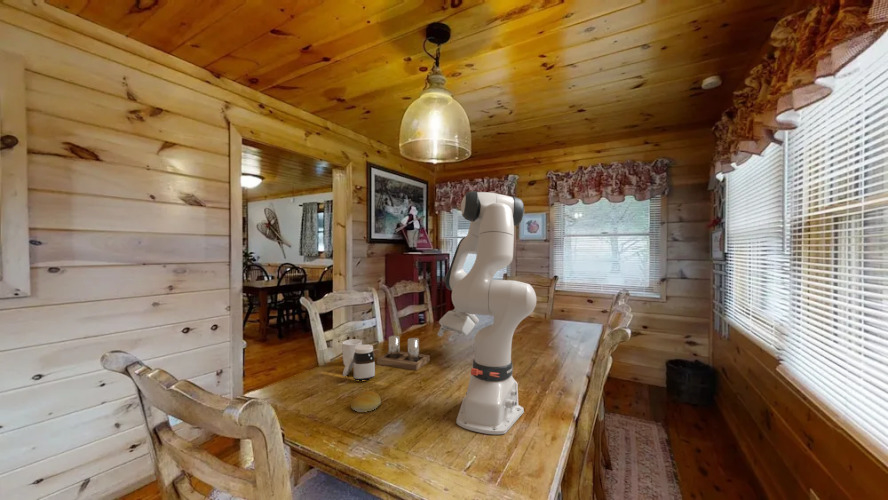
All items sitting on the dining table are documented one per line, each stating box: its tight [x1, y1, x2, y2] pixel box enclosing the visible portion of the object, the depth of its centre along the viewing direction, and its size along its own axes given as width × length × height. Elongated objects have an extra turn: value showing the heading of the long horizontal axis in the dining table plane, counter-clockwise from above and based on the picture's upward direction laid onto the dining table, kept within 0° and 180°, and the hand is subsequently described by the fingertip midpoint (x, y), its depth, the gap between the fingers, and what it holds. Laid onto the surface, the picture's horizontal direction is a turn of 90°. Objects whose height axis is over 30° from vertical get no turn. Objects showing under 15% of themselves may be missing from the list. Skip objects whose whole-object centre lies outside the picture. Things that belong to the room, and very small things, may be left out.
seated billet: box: [388, 335, 401, 359], centre depth 141 cm, size 4×4×10 cm
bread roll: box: [350, 390, 382, 412], centre depth 104 cm, size 8×9×4 cm
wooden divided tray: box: [376, 350, 431, 371], centre depth 139 cm, size 12×18×3 cm, turn 67°
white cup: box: [341, 338, 363, 367], centre depth 138 cm, size 8×8×10 cm
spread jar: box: [342, 344, 376, 381], centre depth 126 cm, size 12×11×12 cm
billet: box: [407, 337, 420, 362], centre depth 138 cm, size 4×4×10 cm
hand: (443, 337), depth 142 cm, fingers open, 8 cm apart
